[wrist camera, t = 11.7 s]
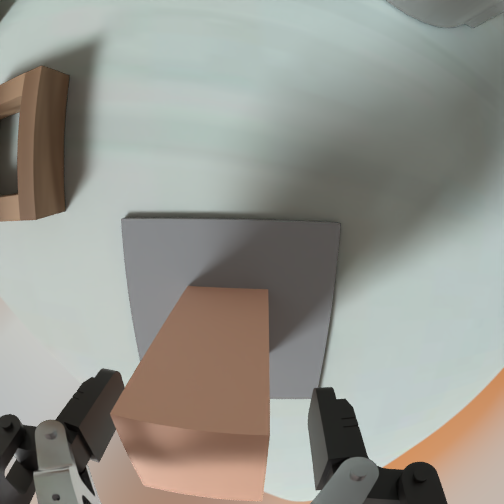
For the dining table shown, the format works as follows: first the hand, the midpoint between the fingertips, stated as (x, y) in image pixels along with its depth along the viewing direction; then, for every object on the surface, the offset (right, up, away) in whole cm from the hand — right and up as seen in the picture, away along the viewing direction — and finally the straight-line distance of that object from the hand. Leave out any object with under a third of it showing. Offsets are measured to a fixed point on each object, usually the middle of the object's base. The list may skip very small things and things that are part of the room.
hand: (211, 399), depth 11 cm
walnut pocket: (-15, +13, +4) cm, 20 cm away
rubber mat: (0, +2, +7) cm, 7 cm away
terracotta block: (0, +2, +6) cm, 6 cm away
